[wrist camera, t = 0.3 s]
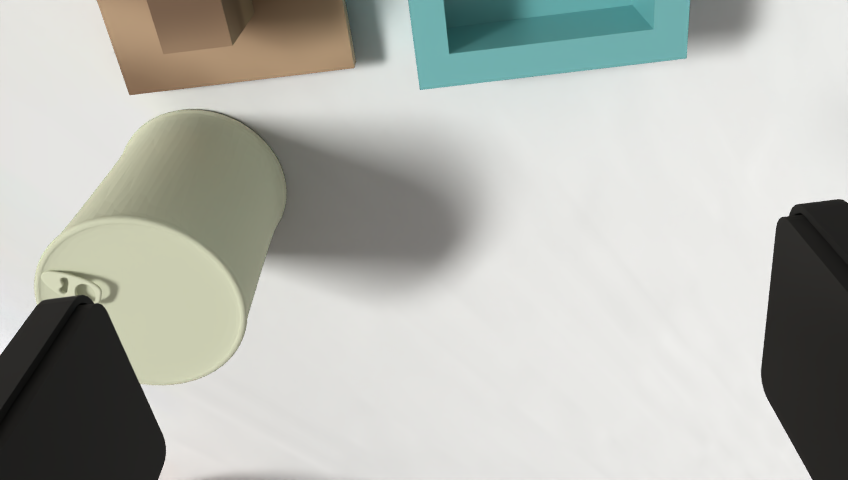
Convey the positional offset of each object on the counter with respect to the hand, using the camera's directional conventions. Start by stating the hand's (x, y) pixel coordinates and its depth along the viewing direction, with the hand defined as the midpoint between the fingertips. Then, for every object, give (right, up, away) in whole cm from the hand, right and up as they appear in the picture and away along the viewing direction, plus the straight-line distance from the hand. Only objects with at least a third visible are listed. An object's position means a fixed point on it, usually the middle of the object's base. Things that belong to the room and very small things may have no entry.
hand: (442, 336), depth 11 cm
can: (-13, +5, +32) cm, 35 cm away
